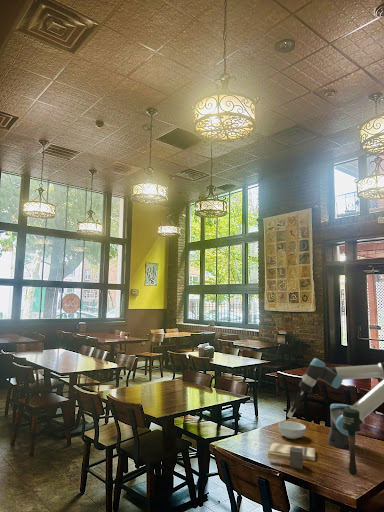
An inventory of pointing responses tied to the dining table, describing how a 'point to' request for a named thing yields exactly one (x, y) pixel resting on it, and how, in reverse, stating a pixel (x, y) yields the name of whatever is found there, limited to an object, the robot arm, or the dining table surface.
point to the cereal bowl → (291, 429)
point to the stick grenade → (351, 434)
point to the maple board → (285, 449)
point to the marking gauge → (290, 457)
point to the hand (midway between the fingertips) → (289, 415)
